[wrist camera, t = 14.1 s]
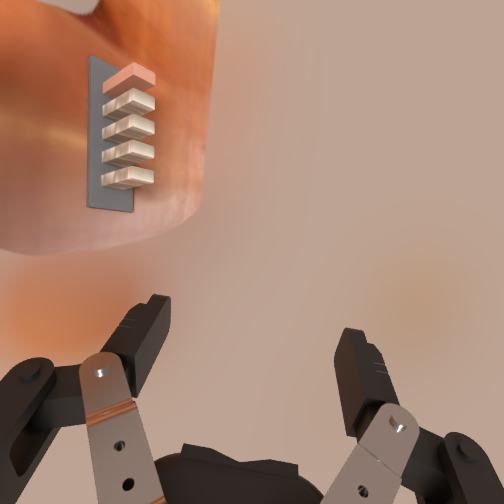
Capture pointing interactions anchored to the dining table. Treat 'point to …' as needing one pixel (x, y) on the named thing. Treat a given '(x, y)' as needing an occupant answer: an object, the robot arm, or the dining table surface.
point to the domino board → (101, 143)
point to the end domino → (129, 80)
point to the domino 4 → (127, 178)
